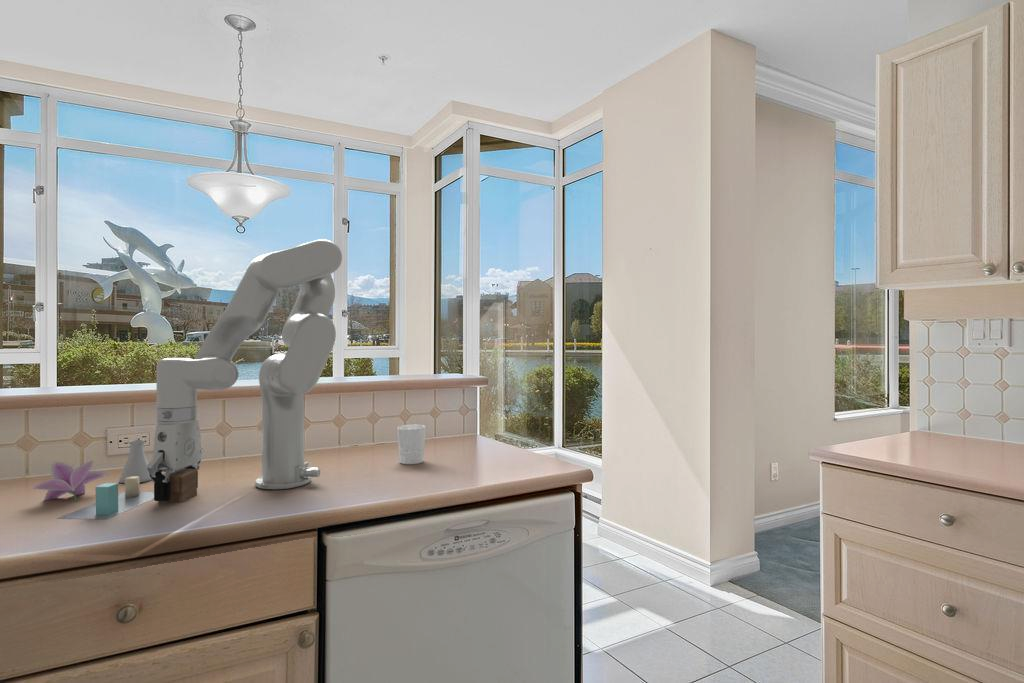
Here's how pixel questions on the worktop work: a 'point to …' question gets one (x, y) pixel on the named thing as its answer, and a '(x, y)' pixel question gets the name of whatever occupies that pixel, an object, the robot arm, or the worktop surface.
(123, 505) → the slate stand
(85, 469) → the lily
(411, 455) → the white cup
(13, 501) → the worktop surface
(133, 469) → the flask
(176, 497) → the wooden grain cube
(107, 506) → the teal post
